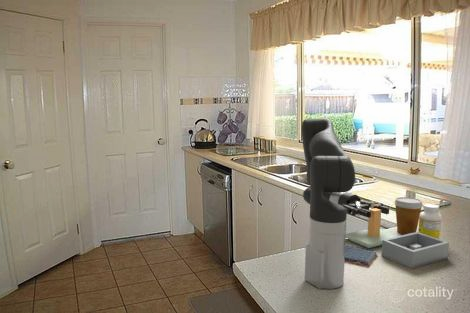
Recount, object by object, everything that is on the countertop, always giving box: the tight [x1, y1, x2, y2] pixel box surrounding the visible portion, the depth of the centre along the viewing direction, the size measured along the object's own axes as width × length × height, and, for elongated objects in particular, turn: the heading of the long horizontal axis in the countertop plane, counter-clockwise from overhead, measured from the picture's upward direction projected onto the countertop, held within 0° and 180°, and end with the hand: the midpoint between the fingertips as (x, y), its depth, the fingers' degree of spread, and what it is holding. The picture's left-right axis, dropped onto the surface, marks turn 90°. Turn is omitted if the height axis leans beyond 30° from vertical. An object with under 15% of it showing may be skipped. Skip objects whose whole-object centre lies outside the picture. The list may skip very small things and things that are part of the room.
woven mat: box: [344, 244, 378, 268], centre depth 119 cm, size 10×11×2 cm
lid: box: [345, 208, 401, 249], centre depth 132 cm, size 16×11×11 cm
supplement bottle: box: [417, 203, 443, 240], centre depth 130 cm, size 7×7×13 cm
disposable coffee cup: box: [393, 196, 424, 235], centre depth 141 cm, size 10×10×12 cm
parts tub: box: [380, 231, 450, 270], centre depth 119 cm, size 16×11×5 cm
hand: (379, 213), depth 130 cm, fingers open, 8 cm apart
